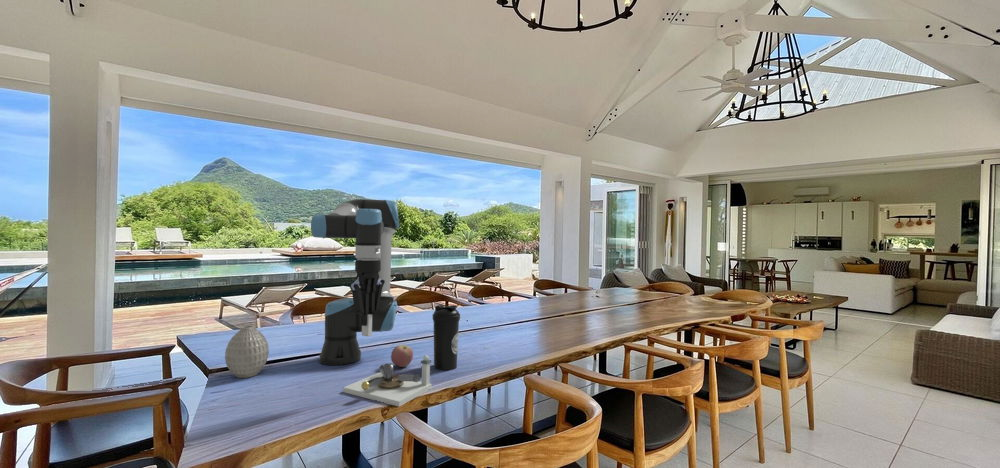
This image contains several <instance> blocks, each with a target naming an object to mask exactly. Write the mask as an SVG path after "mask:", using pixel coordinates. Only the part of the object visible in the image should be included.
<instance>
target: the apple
mask: <svg viewBox="0 0 1000 468" xmlns="http://www.w3.org/2000/svg"><path fill="white" fill-rule="evenodd" d="M413 351H414V350H413V349H412V348H411V347H410V346H408V345H407V344H398V345H396V346H395V347H394V348H393V349H392V352H391V353H390V354H391V355H390V359H391V362H392V364H393V365H396V366H398V367H400V368H405V367H407V366H409V364H411V362H413V361H412V360H413V358H414V352H413Z"/></svg>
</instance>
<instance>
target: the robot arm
mask: <svg viewBox="0 0 1000 468" xmlns="http://www.w3.org/2000/svg"><path fill="white" fill-rule="evenodd" d="M310 220H311V221H310V232H311V236H312V237H313V238H321V239H355V247H354V248H355V250H354V251H355V254H354V255H355V256H354V257H355V258H356V259H355V260H354V271H355V272H356V276H355V281H354V282H353V283H352V282H351V283H349V285H348V286H349V289H350V291H351V295H352V297H346V298H345V297H344V298H340V299H334V300H331V301H329V302H328V303H327V304H326V305H325V312H324V341H323V344H322V348H321V352H319V363H321V364H323V365H326V366H340V365H349V364H353V363H356V362H359V360H361V359H362V351H361V349H360V345H359V343H358V339H357V338H358V337H357V333H361V336H364V337H372V336H373V333H377V332H380V333H382V332H390V331H392V330H393V329H394V326H395V320H396V315H397V309H398V302H397V300H396V301H395V299H394V296H393V294H391V276H392V275H391V272H392V267H391V266H392V237H393V235H395V233H397V232H396V229H399V228H400V222H399V211H398V204H397V202H396V201H395V200H390V199H389V200H388V199H363V198H360V199H359V198H357V199H351V200H347V201H345V202H342V203H339V204H338V205H337V206H336V207H335V208H334V210H333V211H332V212H330V213H328V214H323V213H322V214H313V215H312V217H311V219H310Z"/></svg>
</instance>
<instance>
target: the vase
mask: <svg viewBox="0 0 1000 468" xmlns="http://www.w3.org/2000/svg"><path fill="white" fill-rule="evenodd" d="M269 351H270V349H269V343H268V340H267V338H266V337H265V335H264V334H263V333H262V332H261V331H259V330H258V329H257V328H256V327H255V326H254V325H251V324H250V325H243V326H241V327H240V328H239V330H238V331H237V332H236V333H234V335H233V336H232V337H231V338H230V340H229V341H228V343H227V345H226V348H225V354H224V359H225V360H224V361H225V364H226V367H227V369H228V370H229V372H230V373H231V374H232V375H233V376H235V377H236V378H238V379H247V378H251V377H255V376H257V375H258V374H260V372H261V371H262V369H264V367H265V365H266V363H267V362H268V358H269V353H270V352H269Z"/></svg>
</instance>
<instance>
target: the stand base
mask: <svg viewBox="0 0 1000 468" xmlns="http://www.w3.org/2000/svg"><path fill="white" fill-rule="evenodd" d="M422 358H423V360H421V361H420V364H421V380H420V381H419V382H412V381H404V384H403V385H402V386H400V387H398V388H393V389H384V388H380V387H379V386H378V385H376V386H374V387H371V388H368V389H367V390H363V389H362V387H361V385H362V383H363V382H365V381H369V380H372V379H375V378H377V377H379V378H380V377H382V376H383V375H382V373H381V372H380V371H379V372H377V373H374V374H372V375H370V376H368V377H365V378H363V379H360V380H358V381H356V382H355V381H354V382H353V383H351V384H348V385H346V386H344V387H343V393H346V394H349V395H353V396H357V397H360V398H366V399H368V400H372V401H375V400H377V401H376V402H379V401H380V403H383V402H384V403H383V404H388V405H390V406H396V407H398V408H399V407H401V406H403V405H404V404H407V403H408V402H410V401H412V400H414V399H415V398H418V397H420V396H421V395H422V393H423V394H424V393H426V392H428V391H429V389H430V390H432V387H433V386H432V385H433V384H432V383H431V381H430V380H431V379H430V378H431V377H430V375H431V363H432V360H430V357H429V355H423V357H422Z"/></svg>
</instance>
